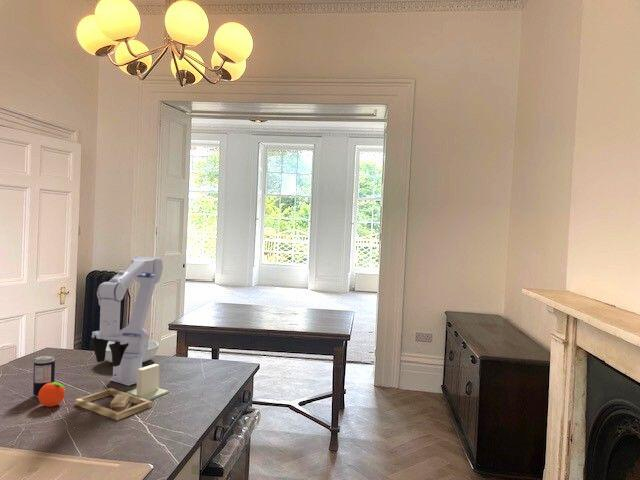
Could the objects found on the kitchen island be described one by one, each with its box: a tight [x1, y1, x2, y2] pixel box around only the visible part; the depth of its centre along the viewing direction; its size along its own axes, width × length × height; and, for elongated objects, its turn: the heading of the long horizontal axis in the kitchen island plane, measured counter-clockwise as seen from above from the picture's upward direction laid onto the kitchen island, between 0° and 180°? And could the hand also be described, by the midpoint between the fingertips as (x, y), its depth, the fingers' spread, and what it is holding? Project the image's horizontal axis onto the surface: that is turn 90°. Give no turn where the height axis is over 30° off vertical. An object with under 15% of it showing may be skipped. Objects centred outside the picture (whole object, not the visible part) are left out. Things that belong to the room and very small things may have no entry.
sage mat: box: [125, 387, 170, 401], centre depth 150 cm, size 10×8×1 cm
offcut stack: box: [109, 394, 132, 412], centre depth 137 cm, size 4×7×4 cm, turn 8°
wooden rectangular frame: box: [75, 387, 153, 421], centre depth 140 cm, size 19×12×2 cm, turn 61°
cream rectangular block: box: [136, 363, 160, 395], centre depth 150 cm, size 2×7×8 cm, turn 151°
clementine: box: [38, 381, 67, 407], centre depth 138 cm, size 8×7×7 cm
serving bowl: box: [105, 339, 159, 363], centre depth 182 cm, size 21×21×7 cm
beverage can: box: [32, 354, 56, 399], centre depth 145 cm, size 6×6×12 cm
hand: (108, 363), depth 146 cm, fingers open, 7 cm apart
